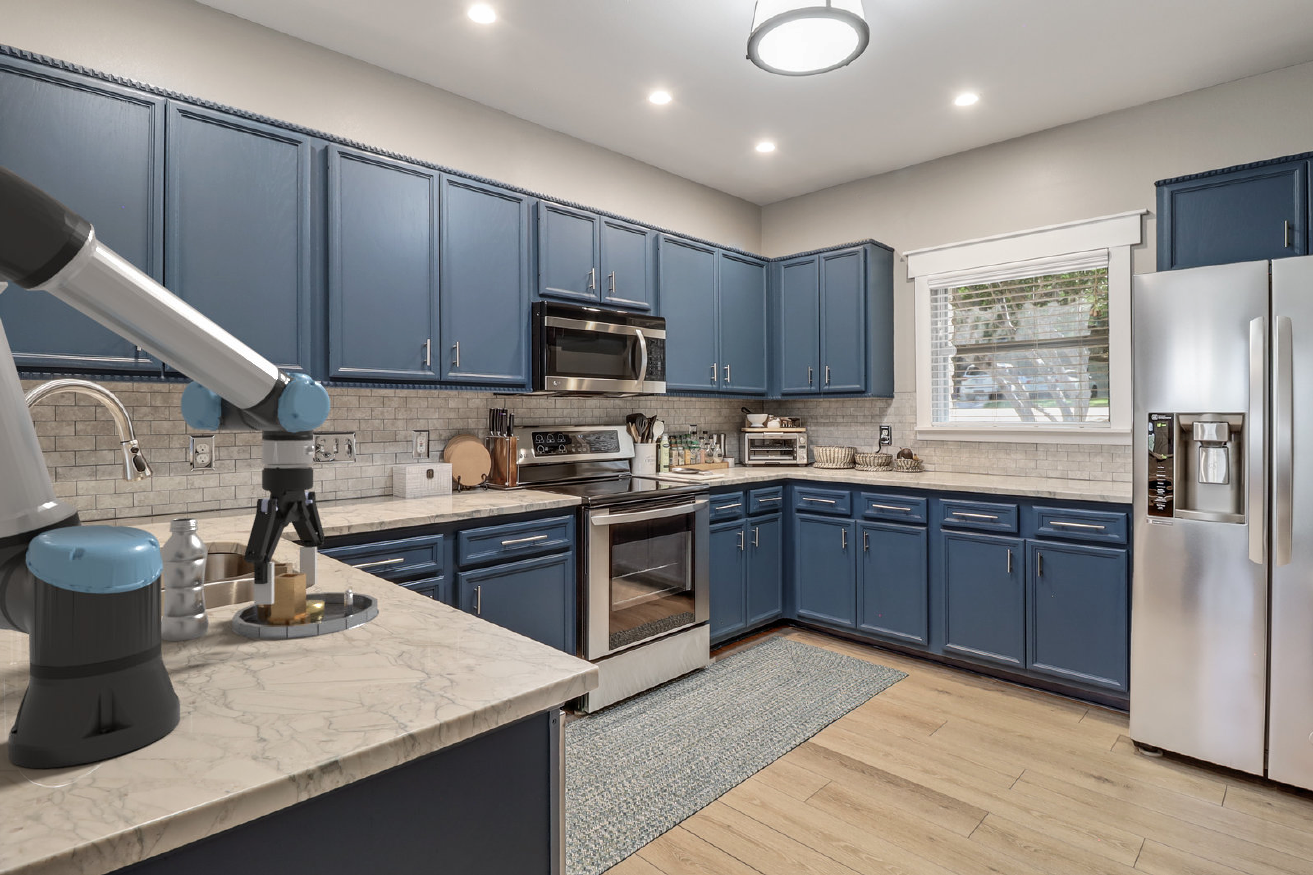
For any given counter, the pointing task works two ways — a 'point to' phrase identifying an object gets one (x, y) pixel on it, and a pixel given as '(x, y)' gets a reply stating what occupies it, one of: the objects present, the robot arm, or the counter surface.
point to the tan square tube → (279, 568)
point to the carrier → (312, 616)
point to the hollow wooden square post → (289, 600)
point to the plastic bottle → (184, 582)
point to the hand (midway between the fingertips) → (287, 593)
